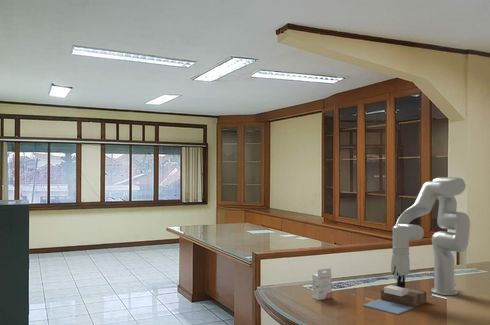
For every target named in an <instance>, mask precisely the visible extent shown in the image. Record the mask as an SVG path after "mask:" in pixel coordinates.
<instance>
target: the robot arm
mask: <svg viewBox="0 0 490 325" xmlns="http://www.w3.org/2000/svg"><path fill="white" fill-rule="evenodd" d="M466 186H467V185H466V181H465V180H464V179H463V178H461V177H457V176H456V177H447V176H442V177H441V176H440V177H435V178H433V179H432V180H430V181H429V180H428V181H426V182H424V183H423V185H422V186H421V188H420V190H419V192H418V195H417V197H416V199H415V201H414V203H413V204H412V205H411V206H410V207H408V208H407V209H405V210H404V211H403V212H402V213H401V214H400V216H399V217H398V218H397V221H396V223H395V224H394V225H393V226H392V255H391V264H390V274H391V275H393V278H394V279H396V285H397V287H402V288H405V287H406V278H407V276H409V275H408V274H410V270H411V268H410V265H411V264H410V256H409V255H410V241H419V240H421V239H423V237H424V236H425V235H424V234H425V230H424V229H423V227H422V226H421V225H418V224H411V222H412V221H413V220H414V219H417V218H420V217H422V216H425V215H428V214H430V213H431V211H432V210H433V207H434V204H435V203H436V200H437V199H438V212H437V219H436V220H437V226H438V227H439V228H441V229H445V230H452V231H454V232H451V231H445V230H444V231H443V230H439V231H436V232H434V233H433V234H432V237H431V244H432V245H431V246H432V250H433V257H434V258H433V262H434V263H433V266H434V267H433V275H434V283H433V284H434V287H432V288H431V290H430V291H431V292H432V293H434V294H435V295H436V294H437V295H443V296H456V295H458V294H459V291H458V290H457V289H455V287H456V286H457V283H456V282H455V257H454V255H453V253H452V252H456V253H464V252H465V251H467V248H468V246H469V239H470V232H471V231H470V230H471V229H470V228H471V219H470V217H469V215H468V214H467V212H466V213H465V212H462V211H457V207H458V206H457V205H458V203H457V199H456V196H459V195H461V194H462V193H464V191H466Z"/></svg>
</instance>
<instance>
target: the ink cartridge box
mask: <svg viewBox="0 0 490 325" xmlns="http://www.w3.org/2000/svg"><path fill="white" fill-rule="evenodd" d="M311 276H312V277H311V278H312V281H311V282H312V283H311V285H312V298H313V299H315V300H318V301H320V300H321V301H322V300H326V299H332V298H333V294H332V291H333V290H332V289H333V288H332V287H333V286H332V284H333V283H332V269H331V267H329V268H323V269H322V268H321V269H317V273H314V274H311Z"/></svg>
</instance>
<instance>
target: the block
mask: <svg viewBox="0 0 490 325" xmlns="http://www.w3.org/2000/svg"><path fill="white" fill-rule="evenodd" d="M407 288H408V287H406V288H402V287H397V286H395V285H391V284H390V285H387V286H384V287H383V289H384V293H389V294H393V295H398V296H404V295H407V294H408V289H407Z"/></svg>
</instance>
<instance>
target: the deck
mask: <svg viewBox="0 0 490 325" xmlns="http://www.w3.org/2000/svg"><path fill="white" fill-rule="evenodd" d="M394 286H397V284H396V285H395V284H394ZM405 288H407V289H408V294H407V295H404V296H398V295H393V294H389V293H384V288H383V289H381V290H380V300H384V301H389V302H393V303H397V304H401V305H406V306H410V307H415V308H416V307H418V306H420V305H422V304H425V303H427V291H426V290H421V289H416V288H411V287H406V286H405Z"/></svg>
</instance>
